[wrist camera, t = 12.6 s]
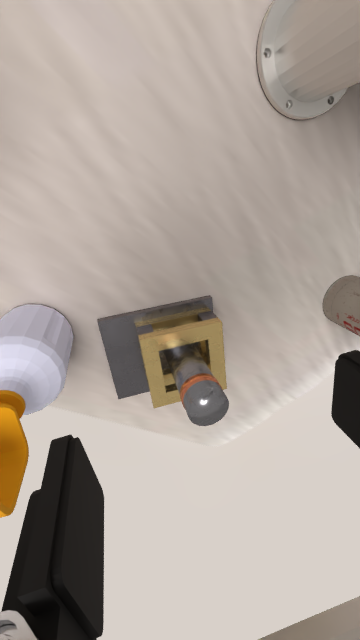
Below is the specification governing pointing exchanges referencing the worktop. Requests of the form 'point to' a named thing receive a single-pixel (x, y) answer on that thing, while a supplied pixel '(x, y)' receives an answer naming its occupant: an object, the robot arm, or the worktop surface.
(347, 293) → the thermos bottle
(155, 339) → the tan frame fixture
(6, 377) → the soap bottle
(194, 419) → the tube
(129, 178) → the worktop surface
